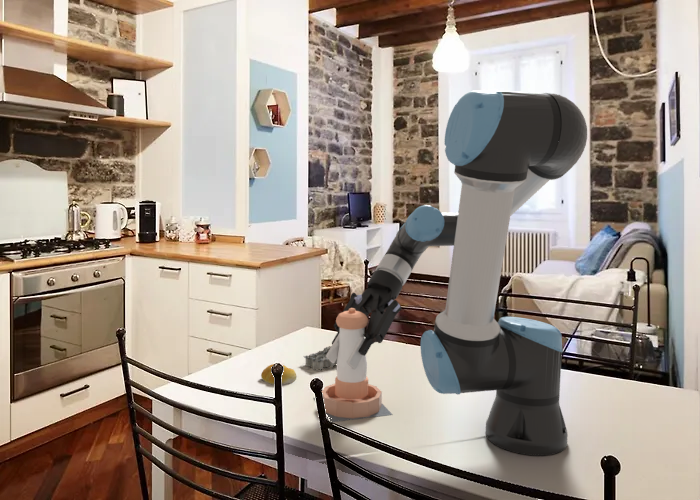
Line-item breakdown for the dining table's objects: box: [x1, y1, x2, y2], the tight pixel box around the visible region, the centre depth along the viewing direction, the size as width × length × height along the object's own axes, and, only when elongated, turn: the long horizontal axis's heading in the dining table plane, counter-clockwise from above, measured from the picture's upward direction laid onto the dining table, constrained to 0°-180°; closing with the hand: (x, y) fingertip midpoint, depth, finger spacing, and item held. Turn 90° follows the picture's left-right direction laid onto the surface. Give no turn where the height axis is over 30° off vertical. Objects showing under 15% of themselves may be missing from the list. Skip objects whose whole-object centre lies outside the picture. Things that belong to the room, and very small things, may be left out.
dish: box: [321, 383, 383, 418], centre depth 122 cm, size 13×13×3 cm
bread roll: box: [260, 363, 297, 386], centre depth 139 cm, size 8×9×4 cm
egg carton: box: [303, 345, 337, 371], centre depth 152 cm, size 11×8×4 cm
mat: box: [313, 397, 393, 423], centre depth 122 cm, size 14×14×1 cm
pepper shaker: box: [334, 308, 369, 399], centre depth 121 cm, size 7×7×19 cm
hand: (340, 362), depth 118 cm, fingers closed on pepper shaker, 5 cm apart
